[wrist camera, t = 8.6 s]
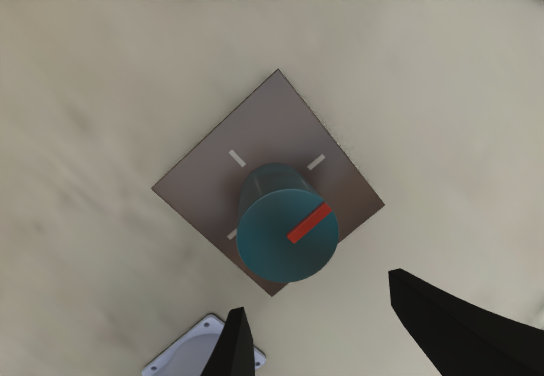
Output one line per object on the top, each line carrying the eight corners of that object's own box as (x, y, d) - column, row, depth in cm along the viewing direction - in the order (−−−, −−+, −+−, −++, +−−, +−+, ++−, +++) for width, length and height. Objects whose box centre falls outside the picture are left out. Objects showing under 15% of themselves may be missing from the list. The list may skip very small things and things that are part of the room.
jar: (272, 242, 20) (285, 304, 13) (224, 197, 18) (212, 242, 12) (322, 198, 19) (362, 240, 13) (276, 148, 18) (294, 166, 11)
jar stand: (372, 196, 22) (386, 205, 20) (269, 281, 23) (272, 298, 21) (274, 73, 18) (278, 67, 16) (160, 181, 20) (149, 189, 18)
